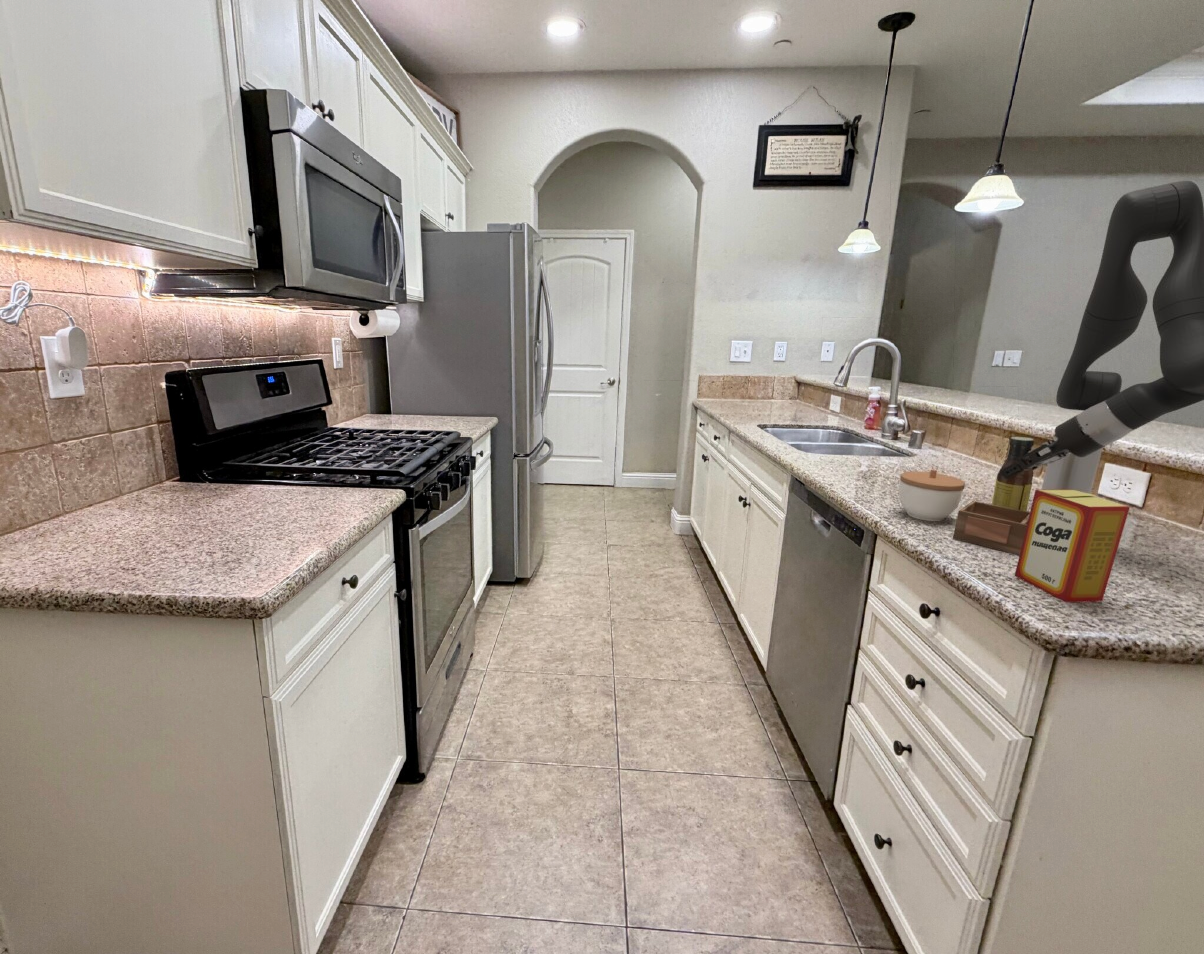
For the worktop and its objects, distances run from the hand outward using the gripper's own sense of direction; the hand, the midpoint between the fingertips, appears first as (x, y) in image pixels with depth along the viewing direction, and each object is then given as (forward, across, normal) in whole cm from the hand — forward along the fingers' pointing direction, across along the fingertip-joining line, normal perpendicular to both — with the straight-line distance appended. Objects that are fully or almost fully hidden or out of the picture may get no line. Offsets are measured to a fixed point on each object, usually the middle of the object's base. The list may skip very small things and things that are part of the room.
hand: (1011, 473), depth 116 cm
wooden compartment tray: (+3, +11, +14) cm, 18 cm away
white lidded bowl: (+17, +8, 0) cm, 19 cm away
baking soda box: (-5, +27, +22) cm, 35 cm away
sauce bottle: (+8, 0, +9) cm, 12 cm away
